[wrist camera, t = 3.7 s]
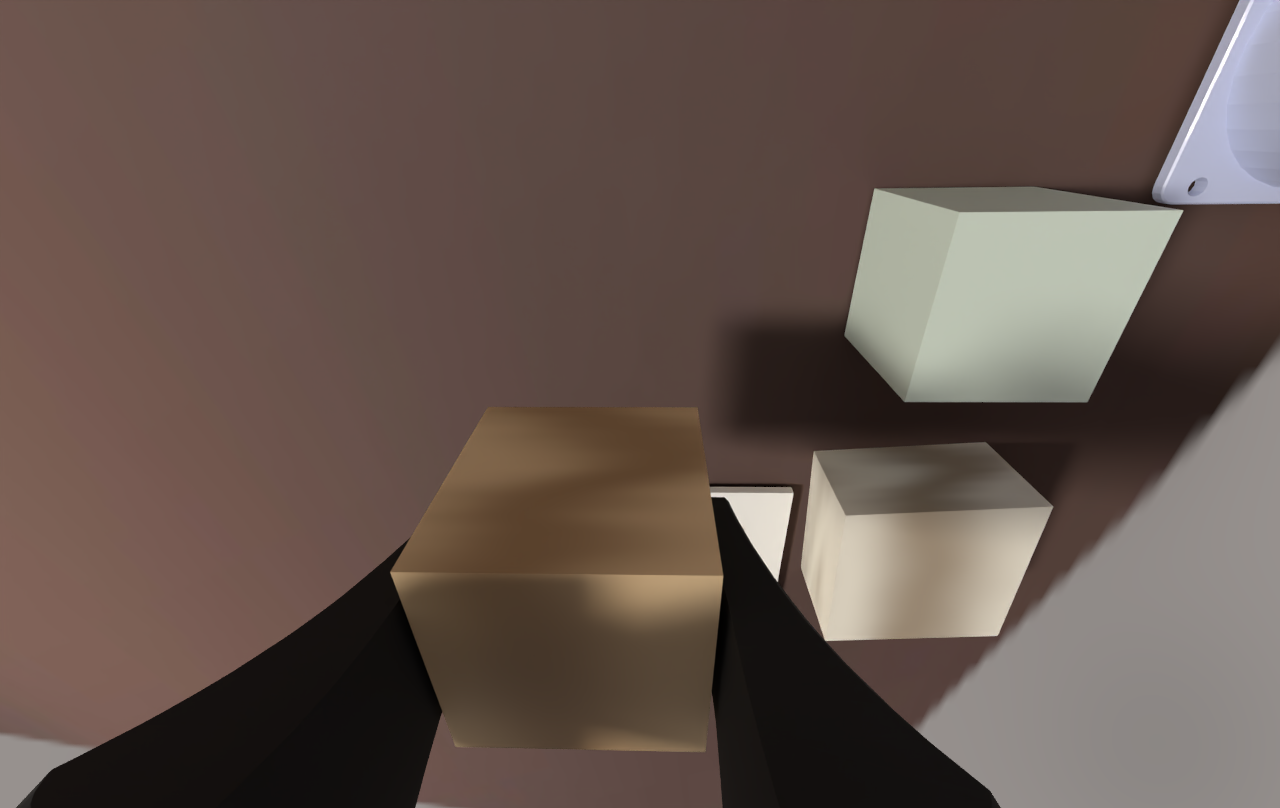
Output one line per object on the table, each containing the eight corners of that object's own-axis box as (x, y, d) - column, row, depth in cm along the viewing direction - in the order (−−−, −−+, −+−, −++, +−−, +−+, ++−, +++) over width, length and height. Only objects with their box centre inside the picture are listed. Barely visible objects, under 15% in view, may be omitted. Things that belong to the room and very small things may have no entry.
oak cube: (697, 407, 12) (723, 575, 7) (689, 558, 14) (705, 751, 10) (488, 407, 12) (389, 572, 7) (516, 556, 14) (455, 746, 10)
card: (791, 487, 21) (794, 494, 21) (767, 621, 26) (769, 629, 25) (586, 486, 22) (584, 493, 21) (597, 619, 26) (596, 627, 26)
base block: (985, 441, 20) (1052, 506, 17) (947, 561, 24) (997, 636, 20) (813, 450, 21) (845, 515, 17) (800, 567, 24) (825, 640, 21)
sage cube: (1034, 186, 15) (1183, 210, 11) (982, 335, 18) (1087, 402, 14) (874, 188, 16) (959, 212, 11) (844, 335, 18) (904, 402, 14)
